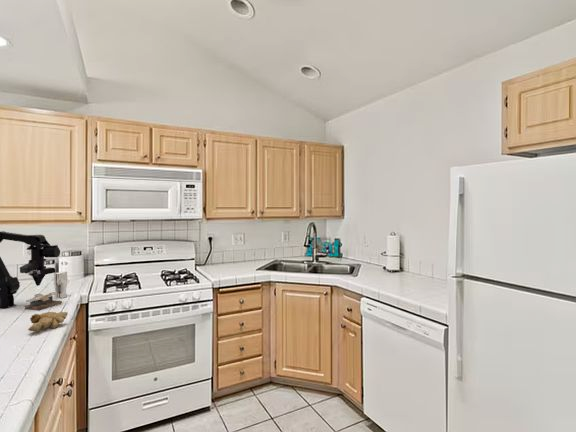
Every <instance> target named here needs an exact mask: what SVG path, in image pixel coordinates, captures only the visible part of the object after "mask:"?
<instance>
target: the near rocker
mask: <svg viewBox="0 0 576 432" xmlns="http://www.w3.org/2000/svg"><path fill="white" fill-rule="evenodd" d="M40 298H41V296H37V297H34V296H33V297H32V298H29V299H26V300H25V302H26V303H30V302H32V301H35V300H39V299H40Z"/></svg>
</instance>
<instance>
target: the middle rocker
mask: <svg viewBox="0 0 576 432" xmlns="http://www.w3.org/2000/svg"><path fill="white" fill-rule="evenodd" d="M44 295H45V294H42V293H40V292H38V293H36V294H35V293H34V295H33V298H34V297H37V296H41V298H40V300H42V301H46V300H49V297H50V296H49V297H47V296H44Z"/></svg>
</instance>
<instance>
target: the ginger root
mask: <svg viewBox="0 0 576 432" xmlns="http://www.w3.org/2000/svg"><path fill="white" fill-rule="evenodd" d="M68 314H69V313H68V311H60V312H56V311H48V312H42V313H34V314H32V315H31V317H30V322H31V323H32V324H31V326H30V327H29V328H28V331H29V332H38V331H41V330H45V329H48V328H51V329H55V328H57V327H58V326H59V324H62V323H64V321H65V320H66V319H67V316H68Z"/></svg>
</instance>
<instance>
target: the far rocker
mask: <svg viewBox="0 0 576 432" xmlns="http://www.w3.org/2000/svg"><path fill="white" fill-rule="evenodd" d="M55 294H57V293H56V292H55V291H53V292H50V293H48V294H43V295H44V296H47V297H50V296H55Z"/></svg>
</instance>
